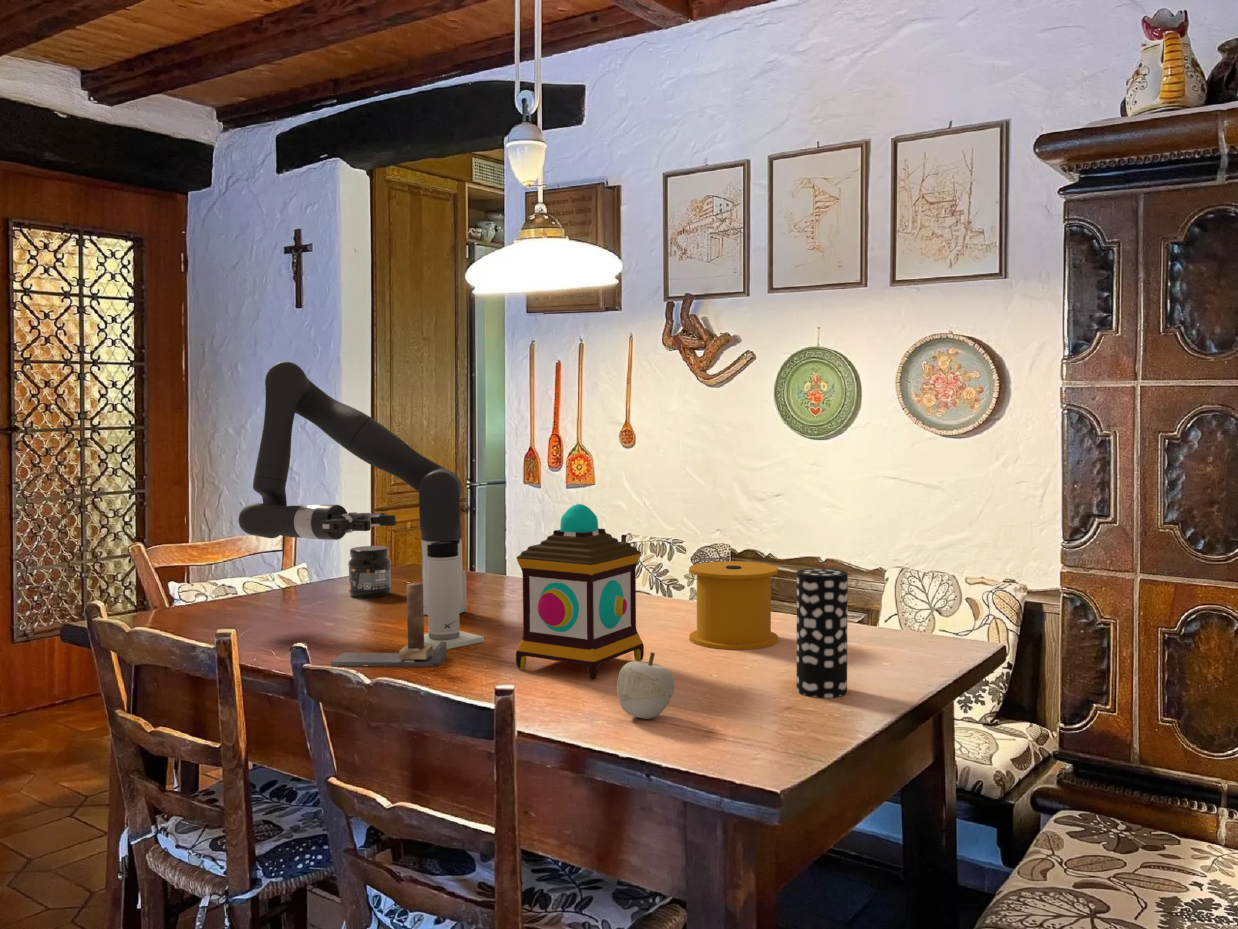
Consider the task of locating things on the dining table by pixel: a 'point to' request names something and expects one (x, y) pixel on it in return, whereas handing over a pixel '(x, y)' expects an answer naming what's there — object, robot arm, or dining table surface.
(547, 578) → the decorative lantern
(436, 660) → the rail
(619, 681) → the decorative object
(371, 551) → the supplement container
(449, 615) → the travel mug
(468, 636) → the pad
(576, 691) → the dining table surface
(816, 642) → the spotted tube
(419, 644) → the post
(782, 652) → the dining table surface
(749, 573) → the spool
